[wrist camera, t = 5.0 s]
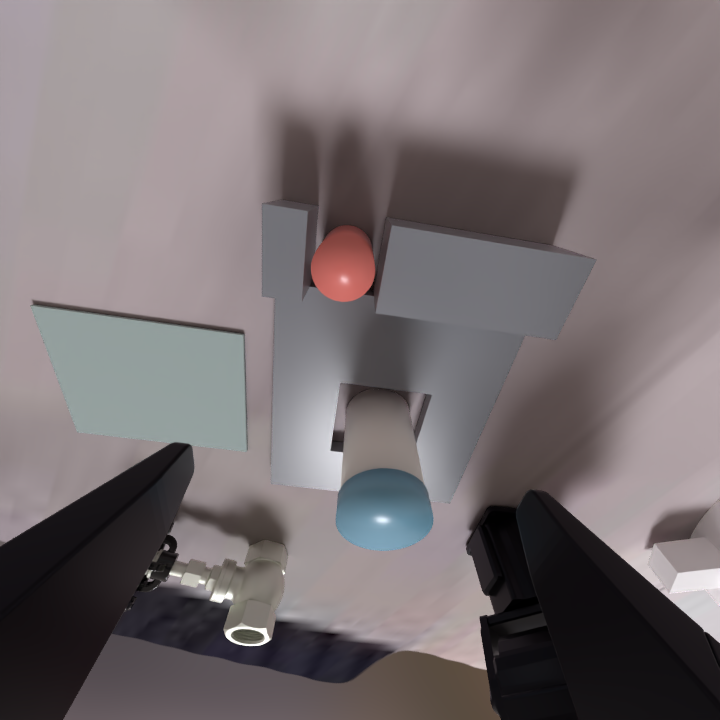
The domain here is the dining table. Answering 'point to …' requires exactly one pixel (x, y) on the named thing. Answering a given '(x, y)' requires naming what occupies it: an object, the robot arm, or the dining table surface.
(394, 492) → the cartridge
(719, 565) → the white circle with bar
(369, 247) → the plunger button
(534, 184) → the dining table surface
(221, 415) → the mat
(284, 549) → the valve
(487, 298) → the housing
